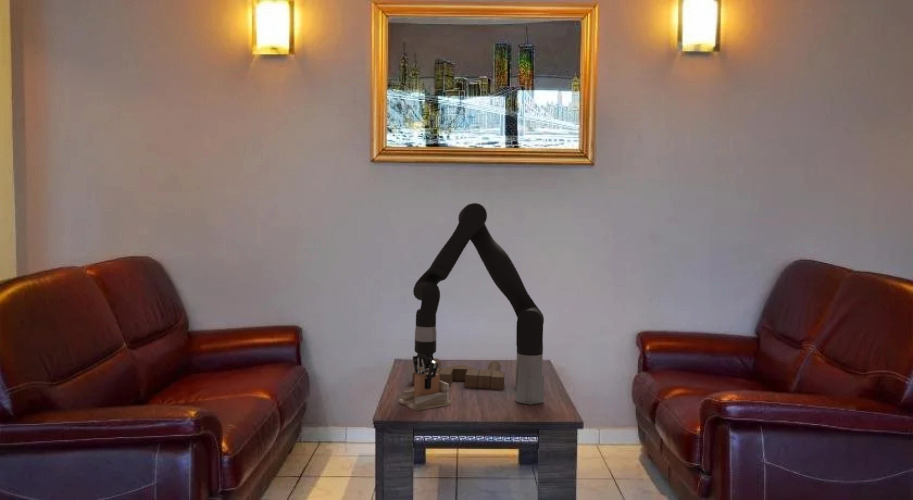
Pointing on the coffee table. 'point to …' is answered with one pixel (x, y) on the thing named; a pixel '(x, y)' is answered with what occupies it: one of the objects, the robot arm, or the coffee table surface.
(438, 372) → the brown segmented blocky figure
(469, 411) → the coffee table surface
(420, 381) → the rust book
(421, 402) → the birch slot rack
